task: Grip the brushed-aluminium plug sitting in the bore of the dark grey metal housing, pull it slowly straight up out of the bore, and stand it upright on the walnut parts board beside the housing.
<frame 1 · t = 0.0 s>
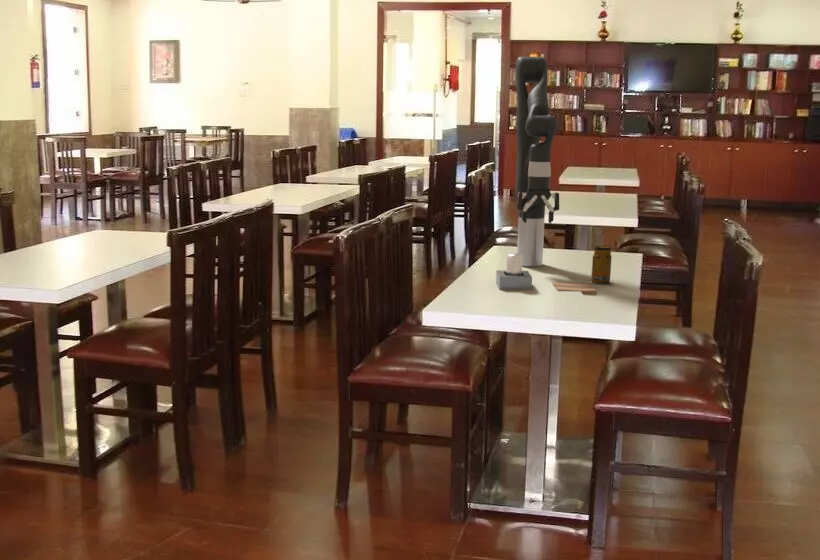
hand: (537, 222, 316), 17 cm above the table, tool pointing down, fingers open, 8 cm apart
housing: (513, 289, 291), on the table
plug: (513, 286, 291), point 1 cm above the table, touching housing
condiment: (602, 283, 303), on the table
board: (573, 290, 291), on the table
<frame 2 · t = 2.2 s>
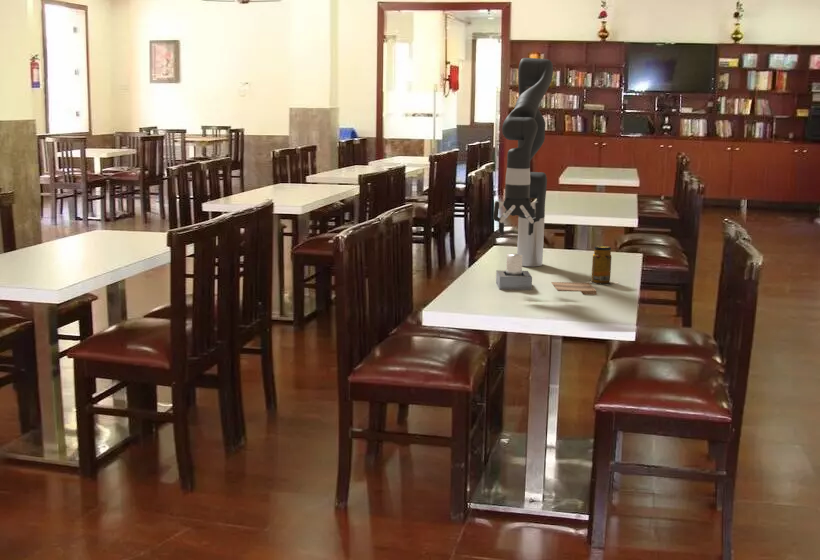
hand: (515, 234, 287), 17 cm above the table, tool pointing down, fingers open, 8 cm apart
nothing on the table moved.
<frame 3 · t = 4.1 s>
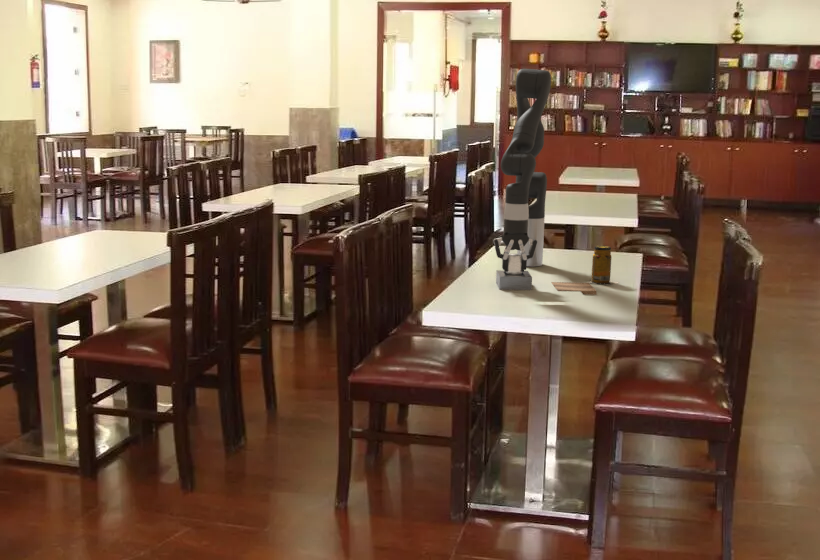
hand: (514, 271, 290), 6 cm above the table, tool pointing down, fingers closed on plug, 4 cm apart
plug: (513, 286, 291), point 1 cm above the table, touching gripper, housing
everything else where it was.
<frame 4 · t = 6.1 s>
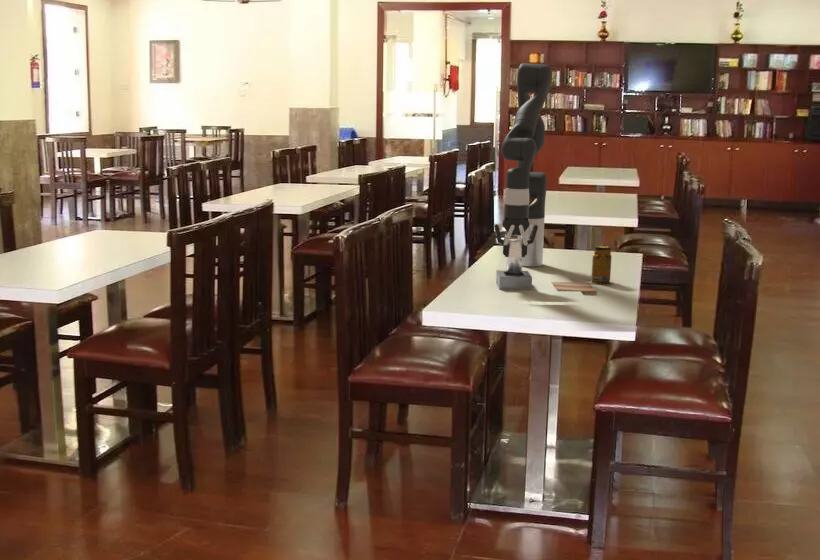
hand: (514, 256, 289), 11 cm above the table, tool pointing down, fingers closed on plug, 4 cm apart
plug: (514, 271, 290), point 6 cm above the table, touching gripper
everything else where it was.
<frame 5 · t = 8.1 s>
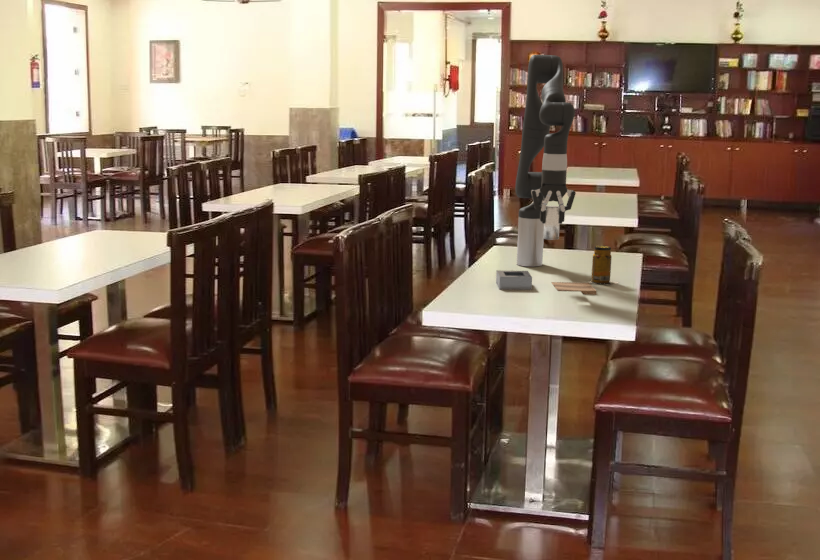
hand: (551, 223, 287), 21 cm above the table, tool pointing down, fingers closed on plug, 4 cm apart
plug: (551, 238, 288), point 16 cm above the table, touching gripper
everything else where it was.
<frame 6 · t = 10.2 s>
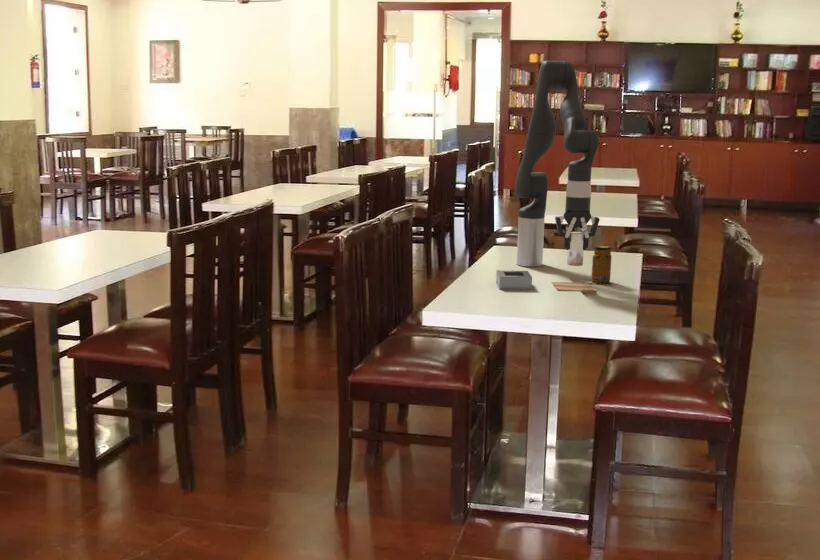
hand: (575, 249, 288), 13 cm above the table, tool pointing down, fingers closed on plug, 4 cm apart
plug: (574, 264, 289), point 8 cm above the table, touching gripper
everything else where it was.
when the fingers open (7 cm above the table, at t = 12.1 s): plug drops 1 cm, resting on board.
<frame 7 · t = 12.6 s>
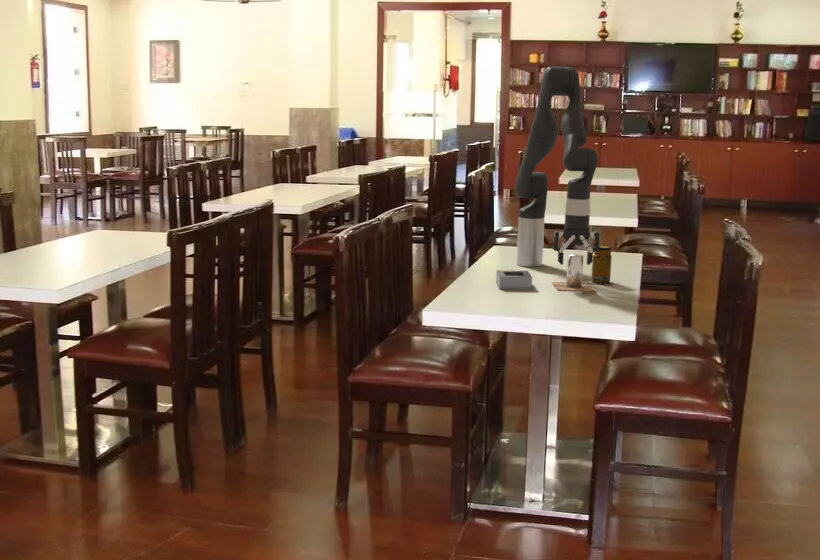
hand: (574, 264, 289), 8 cm above the table, tool pointing down, fingers open, 8 cm apart
plug: (573, 286, 291), point 1 cm above the table, touching board
everything else where it was.
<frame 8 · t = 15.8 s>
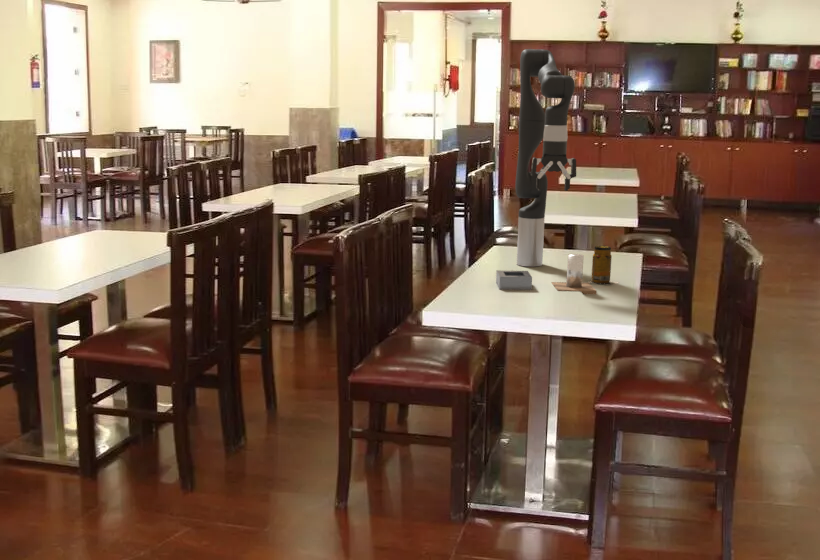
hand: (552, 190, 297), 30 cm above the table, tool pointing down, fingers open, 8 cm apart
nothing on the table moved.
at the end: plug inside the target area on the board (0.1 cm from its centre), point 1.2 cm above the board's base; plug tilted 1°; plug touching board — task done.
